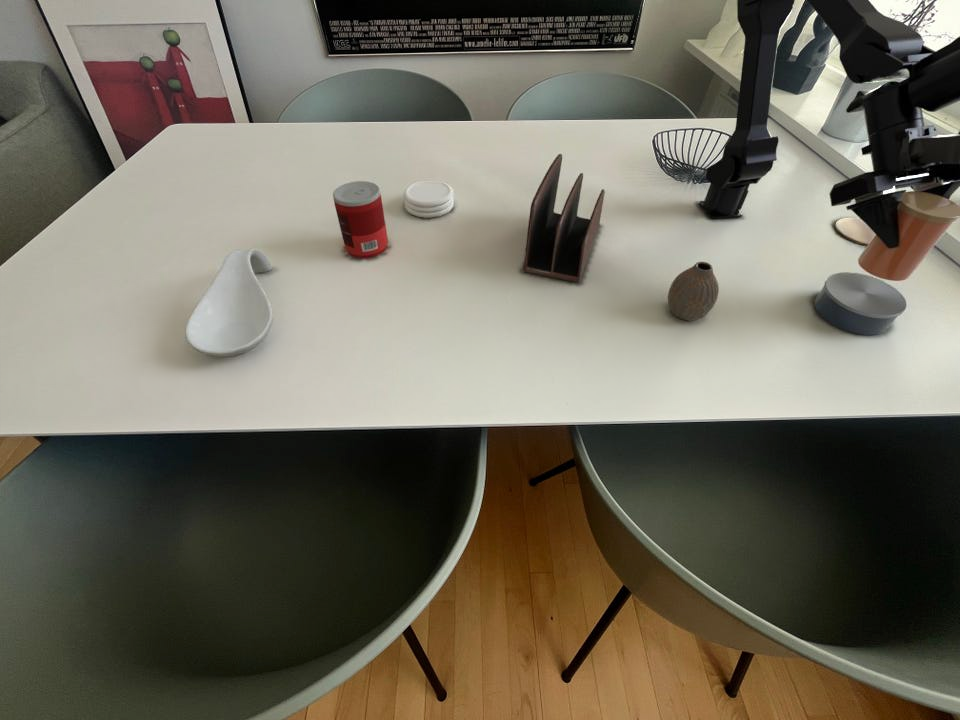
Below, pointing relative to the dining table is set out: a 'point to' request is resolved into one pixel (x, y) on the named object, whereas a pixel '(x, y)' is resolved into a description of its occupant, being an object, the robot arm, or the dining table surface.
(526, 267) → the letter holder
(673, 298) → the vase
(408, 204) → the coaster
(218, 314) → the spoon rest
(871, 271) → the canister
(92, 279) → the dining table surface
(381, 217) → the canned food
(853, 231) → the mat
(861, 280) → the tin
